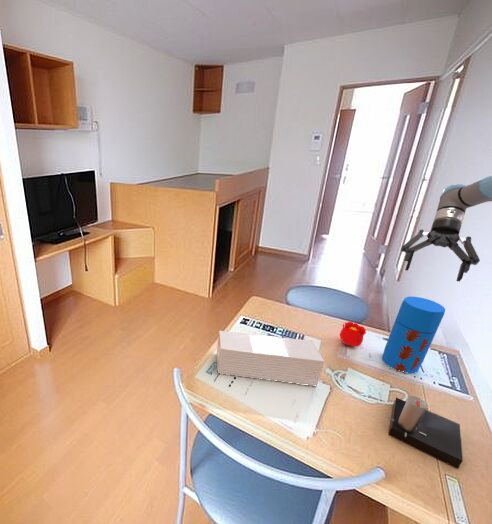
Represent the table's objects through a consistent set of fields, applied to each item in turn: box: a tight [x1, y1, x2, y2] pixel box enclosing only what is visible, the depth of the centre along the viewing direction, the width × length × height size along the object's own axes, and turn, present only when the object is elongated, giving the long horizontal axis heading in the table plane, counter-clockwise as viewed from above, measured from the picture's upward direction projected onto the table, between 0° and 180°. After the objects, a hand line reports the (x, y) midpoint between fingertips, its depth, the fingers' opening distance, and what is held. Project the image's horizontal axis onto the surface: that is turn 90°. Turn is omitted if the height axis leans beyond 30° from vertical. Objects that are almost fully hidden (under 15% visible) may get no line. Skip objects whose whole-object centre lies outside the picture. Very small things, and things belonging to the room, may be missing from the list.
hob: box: [387, 397, 464, 469], centre depth 84 cm, size 15×15×3 cm
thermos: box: [381, 296, 446, 374], centre depth 106 cm, size 11×11×25 cm
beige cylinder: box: [397, 395, 429, 433], centre depth 82 cm, size 4×4×9 cm
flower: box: [339, 321, 367, 347], centre depth 120 cm, size 8×8×8 cm
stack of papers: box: [215, 330, 325, 387], centre depth 106 cm, size 32×11×11 cm, turn 79°
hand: (432, 274), depth 106 cm, fingers open, 13 cm apart
